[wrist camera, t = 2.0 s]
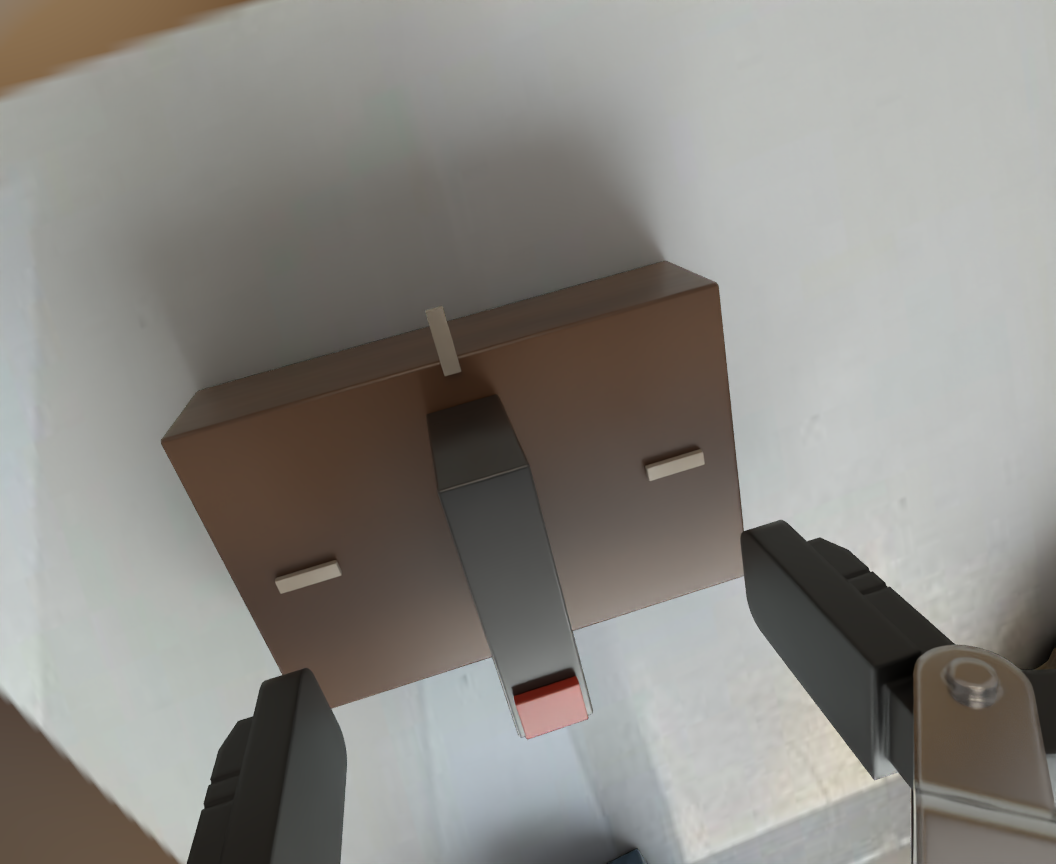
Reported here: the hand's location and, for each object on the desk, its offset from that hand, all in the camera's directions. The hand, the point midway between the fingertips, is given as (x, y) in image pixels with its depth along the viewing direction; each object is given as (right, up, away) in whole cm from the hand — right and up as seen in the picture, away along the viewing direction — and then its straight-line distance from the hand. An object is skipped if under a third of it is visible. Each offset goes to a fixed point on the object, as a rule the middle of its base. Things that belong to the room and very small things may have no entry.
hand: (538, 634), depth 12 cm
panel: (-2, +3, +6) cm, 7 cm away
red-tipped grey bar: (-1, +2, +3) cm, 4 cm away
